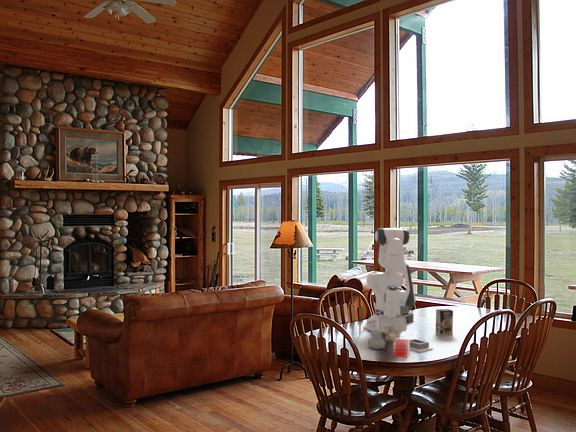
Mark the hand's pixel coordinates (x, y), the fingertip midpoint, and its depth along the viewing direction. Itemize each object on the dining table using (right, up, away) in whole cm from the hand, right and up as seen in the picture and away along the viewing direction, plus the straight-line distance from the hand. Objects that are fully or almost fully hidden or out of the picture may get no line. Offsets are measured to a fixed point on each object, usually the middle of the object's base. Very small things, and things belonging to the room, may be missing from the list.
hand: (392, 336), depth 329 cm
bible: (+13, -4, +61) cm, 63 cm away
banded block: (0, -4, 0) cm, 4 cm away
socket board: (+12, -4, -12) cm, 18 cm away
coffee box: (+38, -5, +24) cm, 45 cm away
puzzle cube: (0, -5, -27) cm, 27 cm away
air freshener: (-12, -4, -14) cm, 19 cm away
